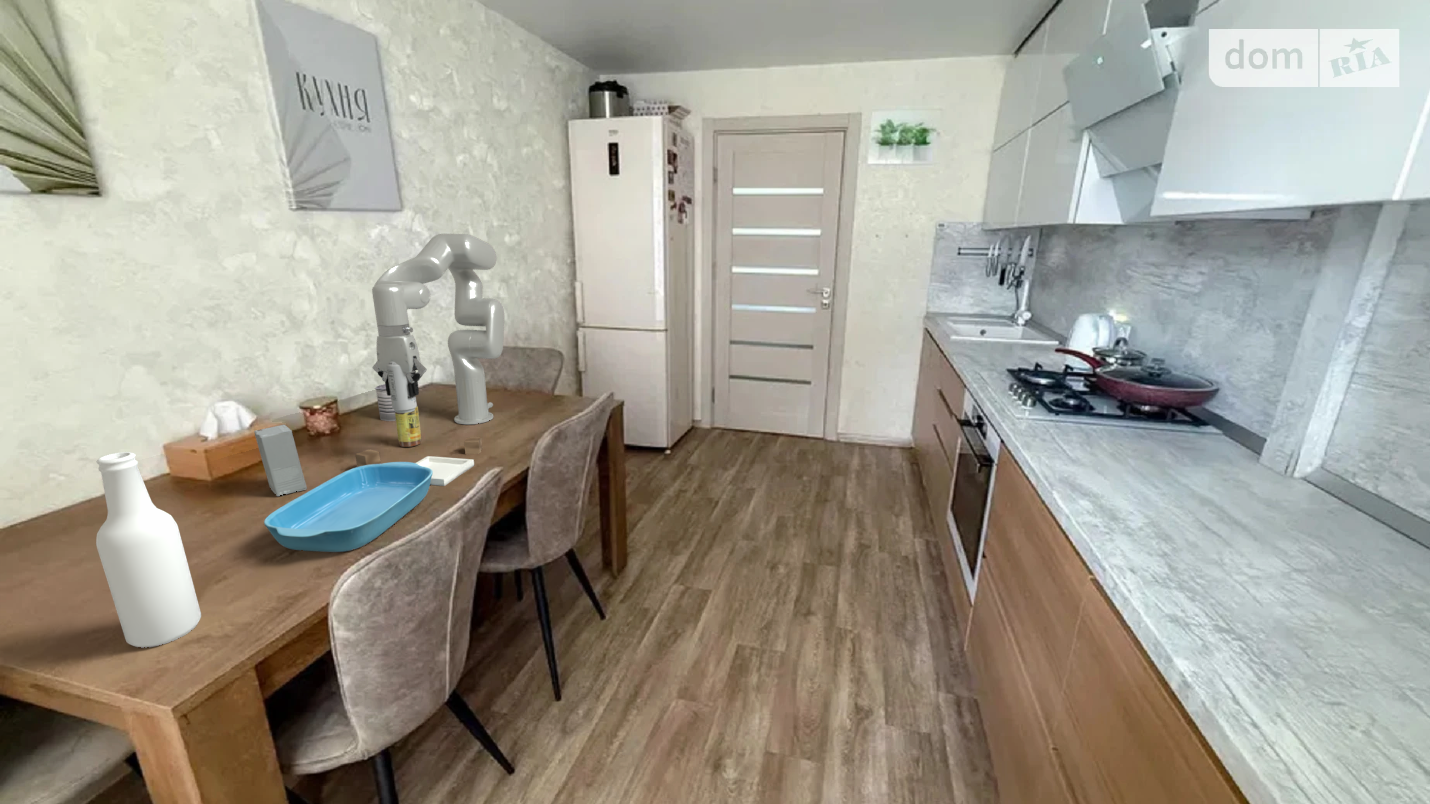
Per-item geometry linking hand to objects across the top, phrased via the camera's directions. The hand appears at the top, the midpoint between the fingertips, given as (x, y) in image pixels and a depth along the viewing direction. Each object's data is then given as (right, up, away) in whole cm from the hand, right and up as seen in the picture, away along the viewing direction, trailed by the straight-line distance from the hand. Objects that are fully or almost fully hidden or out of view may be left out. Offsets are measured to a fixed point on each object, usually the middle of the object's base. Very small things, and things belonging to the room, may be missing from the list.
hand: (403, 394), depth 157 cm
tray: (+11, -21, -4) cm, 25 cm away
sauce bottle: (-7, -15, +17) cm, 24 cm away
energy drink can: (0, -5, +1) cm, 5 cm away
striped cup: (-26, -7, +44) cm, 51 cm away
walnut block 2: (+15, -17, +12) cm, 25 cm away
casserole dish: (+7, -29, -30) cm, 42 cm away
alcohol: (-1, -39, -67) cm, 77 cm away
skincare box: (-21, -24, -15) cm, 35 cm away
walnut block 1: (-8, -21, -3) cm, 22 cm away
